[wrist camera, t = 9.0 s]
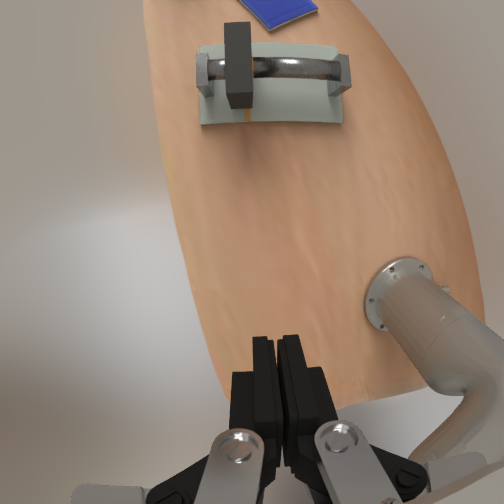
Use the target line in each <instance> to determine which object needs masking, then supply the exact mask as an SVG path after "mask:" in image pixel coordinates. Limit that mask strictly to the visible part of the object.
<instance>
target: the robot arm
mask: <svg viewBox="0 0 504 504" xmlns="http://www.w3.org/2000/svg"><path fill="white" fill-rule="evenodd" d="M449 293H450V287H449V286H442V287H440V286H439V285H438V284H436V283H435V282H434V281H433V276H432V273H431V271H430V269H429V267H428V266H427V265H426V264H425V263H423V262H422V261H421V260H419V259H416V258H413V257H401V258H398V259H395V260H393V261H391V262H389V263H388V264H386V265H385V266H383V267H382V268H381V269H380V270H379V271H378V272H377V273H376V275H375V276H374V277H373V279H372V280H371V282H370V284H369V286H368V288H367V291H366V294H365V299H364V309H365V314H366V316H367V318H368V320H369V321H370V323H371V324H372V325H373V326H374V327H375V328H377V329H378V330H380V331H384V332H390V333H391V334H392V335H393V337H394V338H395V339H396V341H397V342H398V344H399V345H400V346H401V348H402V349H403V350H404V352H405V353H406V355H407V356H408V357H409V359H410V360H411V362H412V363H413V364H414V366H415V367H416V369H417V370H418V372H419V373H420V374H421V376H422V377H423V379H424V380H425V382H426V383H427V384H428V386H429V387H430V388H431V389H433V390H434V391H435V392H437V393H440V394H443V395H448V396H464V398H463V400H462V402H461V403H460V404H459V405H458V407H457V408H456V409H455V410H454V412H453V413H452V414H451V415H450V416H449V417H448V418H447V419H446V420H445V421H444V422H443V423H442V424H441V425H440V426H439V427H438V428H437V429H436V430H435V431H434V432H433V433H432V434H431V435H429V436H428V437H427V438H426V439H425V440H424V441H423V442H422V443H421V444H420V445H419V446H418V447H417V448H416V449H415V450H414V451H413V452H412V453H411V455H410V456H409V457H408V459H406V458H403V457H400V456H398V455H395V454H392V453H390V452H387V451H385V450H382V449H380V448H377V447H375V446H373V445H370V444H369V443H368V441H367V440H366V438H365V436H364V435H363V433H362V431H361V430H360V429H359V428H358V426H356V425H355V424H353V423H351V422H348V421H345V420H338V417H337V414H336V410H335V407H334V404H333V401H332V398H331V395H330V391H329V388H328V385H327V382H326V379H325V376H324V373H323V370H322V368H321V367H311V368H307V365H306V361H305V358H304V354H303V350H302V346H301V343H300V339H299V336H298V334H297V335H283V339H278V341H277V364H276V357H275V349H274V342H273V340H268V339H267V336H262V337H253V371H248V372H233V373H232V387H231V403H230V419H229V430H226V431H225V432H223V433H221V434H220V435H218V436H217V437H216V438H215V440H214V442H213V444H212V447H211V451H210V454H209V455H207V456H206V457H204V458H202V459H201V460H199V461H198V462H196V463H195V464H193V465H191V466H190V467H188V468H186V469H185V470H183V471H182V472H180V473H178V474H176V475H175V476H173V477H171V478H170V479H168V480H166V481H164V482H162V483H160V484H159V485H157V486H155V487H154V488H152V489H143V488H142V487H129V486H109V485H98V484H81V485H79V486H77V487H76V488H75V489H74V490H73V492H72V496H71V504H263V498H264V491H265V487H267V486H268V485H269V484H270V483H271V482H272V481H274V480H275V475H276V467H280V460H281V449H282V447H283V457H284V465H285V467H287V466H290V467H291V473H294V474H295V478H297V479H298V480H300V481H302V482H303V483H304V487H305V490H306V493H307V496H308V499H309V501H310V504H504V339H502V338H501V337H500V336H499V335H497V334H496V333H495V332H494V331H492V330H491V329H490V328H489V327H488V326H486V325H485V324H484V323H483V322H482V321H481V320H479V319H478V318H477V317H476V316H474V315H473V314H472V313H471V312H470V311H468V310H467V309H466V308H465V307H464V306H462V305H461V304H460V303H459V302H457V301H456V300H455V299H454V298H452V297H451V296H450V295H449Z"/></svg>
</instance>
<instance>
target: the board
mask: <svg viewBox="0 0 504 504" xmlns="http://www.w3.org/2000/svg"><path fill="white" fill-rule="evenodd" d="M251 48H252V57H297V58H313V59H324V60H333V59H334V58H335V57H336V56H337V55H338V54H337V47H334V46H325V45H315V44H302V43H279V42H252V43H251ZM199 53H208V55H209V58H210V60H211V59H222V58H225V45H224V44H216V45H206V46H199ZM199 107H200V125H209V124H223V123H240V122H320V123H337V124H342V123H343V112H342V96H341V94H340V95H339V96H337V97H335V96H328V89H327V80H315V79H296V78H253V104H252V108H247V109H231V108H230V105H229V102H228V99H227V96H226V87H225V80H214V96H213V97H204V96H203V95H202V93H201V92H200V91H199Z"/></svg>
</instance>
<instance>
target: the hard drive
mask: <svg viewBox="0 0 504 504" xmlns="http://www.w3.org/2000/svg"><path fill="white" fill-rule="evenodd" d="M239 1H240V2H241V3H242V4H243V5H244V6H245V7H246V8H247V9H248V10H249V11H250V12H251V13H252V14H253V15H254V16H255V17H256V18H257V19H258V20H259V21H260V22H261V23H262V24H263V25H264V26H265V27H266V29H267V30H268V31H269V32H270V31H272V30H274V29H276V28H278V27H280V26H282V25H284V24H286V23H289V22H291V21H293V20H295V19H298V18H300V17H302V16H305V15H307V14H310V13H312V12H315V11H317V10H318V7H317V6H316V5H315V4H314V3H313V2H312V1H311V0H239Z"/></svg>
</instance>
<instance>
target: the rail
mask: <svg viewBox="0 0 504 504" xmlns="http://www.w3.org/2000/svg"><path fill="white" fill-rule="evenodd" d="M252 70H253V78H296V79H315V80H327V89H328V96H335V97H337V96H339V95H340V94H342V93H343V92H345V91H346V90H348V89H349V88H351V87H352V86H351V75H350V66H349V57H348V55H342V54H338V55H337V56H336V57H335V58H334V59H333V60H324V59H313V58H297V57H252ZM214 80H225V58H222V59H211V60H210V58H209V55H208V53H199V54H196V86H197V88H198V89H199V91H200V92H201V93H202V95H203V96H204V97H213V96H214Z"/></svg>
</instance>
